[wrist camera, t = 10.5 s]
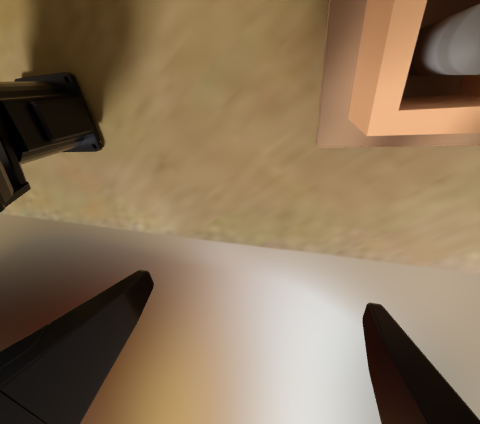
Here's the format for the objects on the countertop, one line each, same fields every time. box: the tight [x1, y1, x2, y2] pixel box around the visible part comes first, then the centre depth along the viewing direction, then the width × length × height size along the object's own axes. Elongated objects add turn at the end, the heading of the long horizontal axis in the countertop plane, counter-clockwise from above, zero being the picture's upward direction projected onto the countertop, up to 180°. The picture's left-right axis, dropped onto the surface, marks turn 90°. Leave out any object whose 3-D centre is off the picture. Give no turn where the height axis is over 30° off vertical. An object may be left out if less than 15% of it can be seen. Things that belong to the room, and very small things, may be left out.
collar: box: [348, 0, 480, 136], centre depth 10 cm, size 6×6×5 cm
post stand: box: [316, 0, 480, 148], centre depth 10 cm, size 10×10×6 cm
